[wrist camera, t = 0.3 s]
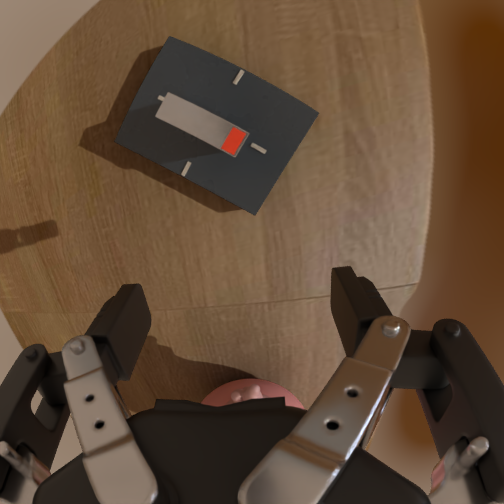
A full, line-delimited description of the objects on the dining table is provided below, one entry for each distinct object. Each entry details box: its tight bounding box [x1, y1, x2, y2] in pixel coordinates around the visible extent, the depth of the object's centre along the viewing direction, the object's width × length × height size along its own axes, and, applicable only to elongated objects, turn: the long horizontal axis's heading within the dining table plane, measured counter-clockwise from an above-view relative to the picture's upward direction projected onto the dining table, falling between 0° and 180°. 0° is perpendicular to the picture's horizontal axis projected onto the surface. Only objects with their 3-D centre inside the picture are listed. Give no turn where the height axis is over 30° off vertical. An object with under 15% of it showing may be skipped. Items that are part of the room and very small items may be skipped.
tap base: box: [114, 36, 319, 215], centre depth 26 cm, size 15×11×3 cm
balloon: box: [201, 379, 304, 409], centre depth 34 cm, size 15×20×15 cm
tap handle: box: [155, 92, 250, 157], centre depth 22 cm, size 6×2×6 cm, turn 60°
